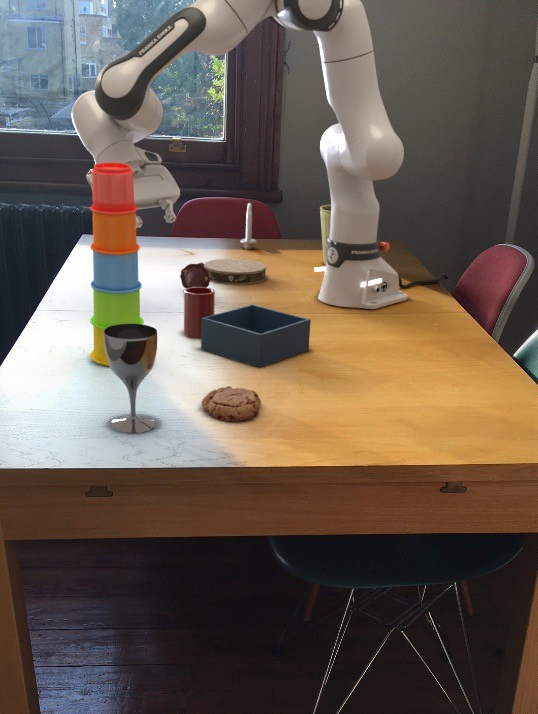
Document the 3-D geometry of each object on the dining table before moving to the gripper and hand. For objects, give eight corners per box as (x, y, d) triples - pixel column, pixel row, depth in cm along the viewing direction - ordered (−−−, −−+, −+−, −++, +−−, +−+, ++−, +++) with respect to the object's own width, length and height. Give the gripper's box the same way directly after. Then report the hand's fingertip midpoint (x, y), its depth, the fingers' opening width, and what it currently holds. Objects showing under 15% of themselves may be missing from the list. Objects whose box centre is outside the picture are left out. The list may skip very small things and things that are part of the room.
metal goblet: (109, 414, 141) (105, 323, 134) (159, 414, 142) (157, 323, 135) (106, 434, 134) (101, 338, 127) (158, 434, 135) (156, 339, 128)
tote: (251, 333, 183) (252, 304, 180) (308, 350, 175) (310, 319, 172) (201, 349, 173) (201, 317, 170) (259, 367, 164) (261, 334, 161)
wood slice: (276, 276, 230) (277, 264, 228) (243, 287, 218) (244, 275, 216) (226, 267, 237) (226, 255, 236) (191, 277, 225) (191, 265, 224)
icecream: (209, 272, 203) (217, 264, 217) (179, 262, 203) (189, 255, 216) (201, 301, 206) (210, 291, 219) (171, 291, 205) (182, 282, 219)
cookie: (216, 425, 139) (217, 407, 137) (193, 402, 147) (193, 385, 146) (273, 418, 143) (274, 400, 141) (248, 395, 151) (248, 379, 150)
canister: (203, 328, 186) (203, 285, 182) (219, 335, 181) (220, 292, 177) (178, 332, 183) (178, 289, 178) (194, 340, 178) (194, 295, 174)
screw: (254, 250, 257) (238, 249, 258) (257, 247, 262) (241, 246, 262) (256, 204, 251) (239, 203, 252) (259, 201, 255) (242, 200, 256)
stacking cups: (154, 354, 169) (150, 162, 153) (130, 370, 160) (124, 169, 144) (106, 347, 172) (97, 158, 155) (80, 362, 163) (68, 164, 147)
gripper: (89, 159, 171) (124, 219, 170) (164, 154, 185) (197, 208, 184) (76, 181, 175) (110, 239, 174) (150, 173, 189) (182, 227, 188)
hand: (155, 223), depth 179 cm, fingers open, 8 cm apart
